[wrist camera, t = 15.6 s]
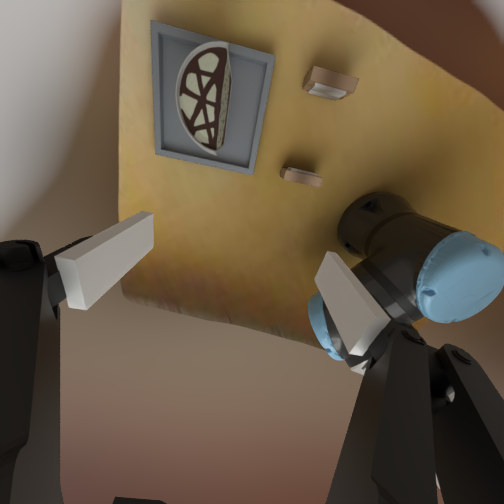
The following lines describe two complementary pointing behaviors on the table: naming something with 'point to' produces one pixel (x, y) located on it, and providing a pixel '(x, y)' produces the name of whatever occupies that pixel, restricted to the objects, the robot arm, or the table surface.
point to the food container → (205, 94)
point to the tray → (240, 110)
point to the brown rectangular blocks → (328, 87)
